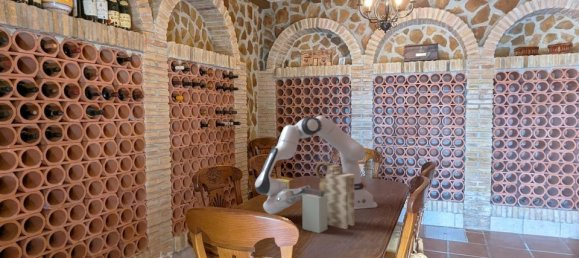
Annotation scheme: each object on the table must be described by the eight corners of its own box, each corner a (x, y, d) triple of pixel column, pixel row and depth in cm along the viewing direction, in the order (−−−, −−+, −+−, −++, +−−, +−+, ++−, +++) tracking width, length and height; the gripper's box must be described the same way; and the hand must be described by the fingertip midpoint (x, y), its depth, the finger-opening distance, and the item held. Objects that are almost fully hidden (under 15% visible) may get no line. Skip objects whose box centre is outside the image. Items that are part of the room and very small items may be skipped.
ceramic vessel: (329, 205, 220) (330, 164, 219) (310, 199, 236) (310, 161, 234) (350, 200, 231) (351, 162, 230) (330, 195, 246) (330, 159, 245)
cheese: (289, 192, 256) (289, 178, 256) (289, 195, 246) (289, 181, 245) (274, 192, 256) (274, 178, 256) (274, 196, 245) (274, 181, 245)
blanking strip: (297, 192, 180) (297, 188, 180) (301, 191, 182) (301, 187, 182) (320, 196, 171) (320, 192, 171) (324, 195, 173) (324, 190, 173)
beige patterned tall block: (325, 224, 183) (325, 166, 182) (334, 220, 189) (334, 164, 188) (346, 229, 176) (346, 168, 174) (354, 225, 182) (354, 166, 180)
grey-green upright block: (302, 228, 176) (302, 194, 176) (310, 225, 182) (310, 191, 181) (319, 233, 170) (319, 197, 169) (327, 229, 176) (327, 194, 175)
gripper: (271, 196, 179) (289, 185, 171) (296, 188, 195) (314, 178, 187) (276, 207, 178) (294, 197, 170) (301, 199, 193) (319, 190, 185)
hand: (305, 187), depth 179 cm, fingers open, 5 cm apart
